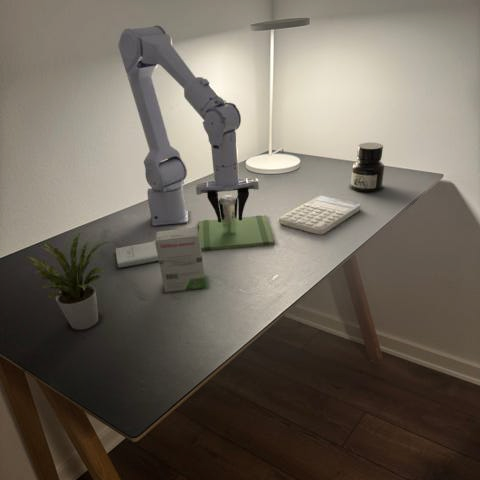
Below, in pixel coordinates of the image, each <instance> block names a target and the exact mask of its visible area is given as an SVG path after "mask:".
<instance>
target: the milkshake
mask: <svg viewBox="0 0 480 480" xmlns="http://www.w3.org/2000/svg"><path fill="white" fill-rule="evenodd" d="M238 196H239V195H238V194H237V196H234V195H230V194H229V195H228V194H226V195H223V196H221V197H220V198H218V201H219V209H220V215H221V220H222V228H223V233H224V234H227V235H232V234H235V233H236V227H237V218H238Z"/></svg>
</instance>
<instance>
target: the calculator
mask: <svg viewBox="0 0 480 480" xmlns="http://www.w3.org/2000/svg"><path fill="white" fill-rule="evenodd" d="M361 206H362V205H361V204H360V203H359V202H355V201H351V200H347V199H341V198H336V197H332V196H328V195H324V194H323V195H322V194H321V195H317V196H315V197H314V198H312V199H310V200H308V201H306V202H305V203H303V204H301V205H299V206H298V207H295V208H294V209H292V210H290V211H288V212H287V213H285V214H283V215H281V216H280V217H279V218H278V222H279V224H280V225H283V226H287V227H290V228H294V229H298V230H301V231H304V232H308V233H311V234H314V235H315V234H316V235H319V236H321V235H324V234H325V233H328V232H329V231H330V230H332V229H333V228H335V227H337V226H338V225H340V224H341V223H343V222H344V221H345V220H347V219H349V218H350V217H352V216H353V215H355V214H356V213H358V212H359V211H360V210H361Z"/></svg>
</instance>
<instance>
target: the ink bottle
mask: <svg viewBox="0 0 480 480" xmlns="http://www.w3.org/2000/svg"><path fill="white" fill-rule="evenodd" d="M383 149H384V145H383V144H382V143H378V142H362V143H359V144H358V146H357V152H356V153H357V154H356V155H357V156H356V159H357V160H356V161H355V162H354V163H352V170H351V181H350V188H351V189H353V190H355V191H358V192H363V193H372V192H377V191H379V190H380V189H381V188H382V187H383V181H384V173H385V164H384V163H383V162H382V161H381V160H382V157H383Z"/></svg>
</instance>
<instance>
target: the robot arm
mask: <svg viewBox="0 0 480 480" xmlns="http://www.w3.org/2000/svg"><path fill="white" fill-rule="evenodd" d="M117 46H118V50H119V53H120V57H121V59H122V64H123V67H124V70H125V73H126V76H127V79H128V82H129V86H130V89H131V90H130V91H131V92H132V96H133V99H134V103H135V107H136V109H137V113H138V116H139V120H140V123H141V126H142V129H143V133H144V136H145V140H146V144H147V147H148V150H149V151H148V153H147V155H146V156H145V159H144V160H143V165H144V171H145V172H144V173H145V174H144V175H145V180H146V182H147V184H148V185H149V186H150V187H149V188H148V189H147V202H148V207H149V215H150V219H151V225H152V226H153V227H154V226H166V225H176V224H187V223H188V222H189V210H188V209H186V203H185V195H184V189H183V188H184V187H183V186H184V184H185V182H184V180H186V178H187V176H188V169H187V165H186V163H185V161H184V160H183V158H182V156H181V152H180V150H178V149H177V148H174V147H173V146H171V142H170V139H169V136H168V132H167V131H168V130H167V128H166V124H165V120H164V117H163V114H162V110H161V106H160V103H159V99H158V95H157V91H156V88H155V85H154V81H153V75H154V72H155V70H156V69H157V68H158V66H160V67H161V68H162V69H163V70H164V71H166V73H168V75H169V76H171V78H173V80H174V81H175V82H177V84H178V85H180V87H181V88H182V89H183V96H184V99H185V100H186V102H187V103H188V104H189V105H190V106H191V107H192V108H193V110H194V111H195V112H196V113H197V114H198V115H199V117H200V118H201V119H202V120H203V121H202V126H203V129H204V131H205V133H206V134H207V137H208V142H209V145H210V149H211V160H212V169H213V179H214V180H211V181H210V180H209V181H206V182H200V183H196V184H195V190H196V191H195V192H196V195H197V196H199V195H202V194H206V195H207V200H208V201H209V203H210V204H211V206H212V208H213V210H214V213H215V215H216V217H217V220H218V222H221V213H220V207H219V194H218V193H220V192H232V191H233V192H234V191H236V192H237V193H236V194H237V196H238V195H239V196H238V199H237V200H238V204H237V218H239V221H240V220H242V217H243V214H244V209H245V207H246V203H247V201H248V199H249V196H250V190H255V191H256V190H257V191H258V190H259V189H260V188H259V187H260V185H259V179H258V178H240V175H239V173H240V171H239V157H238V142H237V141H238V140H237V130H238V129H239V128H240V126H241V123H242V116H241V113H240V110H239V108H238V107H237V105H236V104H235V103H233V102H230V101H229V102H228V101H226V99H224V98H222V97H221V96H220V95H219V94H218V93H217V92H216V91H215V89H214V88H213V87H212V86H211V84H210V81H209V80H208V79H207V78H204V77H203V76H197V77H196V76H195V74H194V73H193V71H191V69H190V68H189V66H188V65H187V64H186V62H185V61H184V59H183V58H182V57H181V56H180V54H179V53H178V51H177V50H176V49H175V48H174V46H173V40H172V36H171V35H170V34H168V32H167V31H166V30H165V29H164V27H162V26H161V25H158V24H157V25H153V26H147V27H146V26H145V27H139V28H125V29H123V31H122V32H121V34H120V37H119V41H118V44H117Z"/></svg>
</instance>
